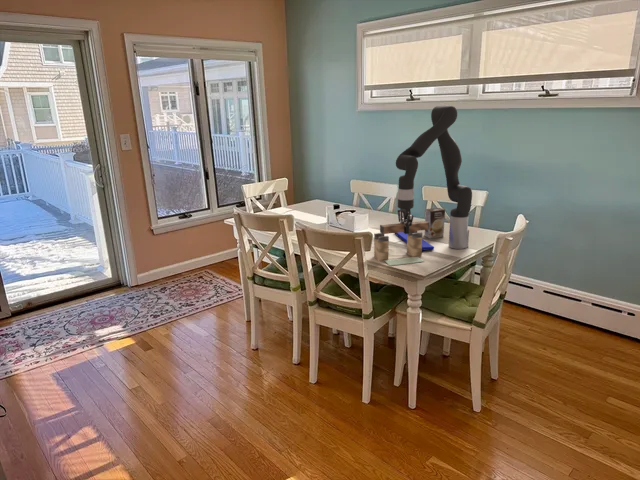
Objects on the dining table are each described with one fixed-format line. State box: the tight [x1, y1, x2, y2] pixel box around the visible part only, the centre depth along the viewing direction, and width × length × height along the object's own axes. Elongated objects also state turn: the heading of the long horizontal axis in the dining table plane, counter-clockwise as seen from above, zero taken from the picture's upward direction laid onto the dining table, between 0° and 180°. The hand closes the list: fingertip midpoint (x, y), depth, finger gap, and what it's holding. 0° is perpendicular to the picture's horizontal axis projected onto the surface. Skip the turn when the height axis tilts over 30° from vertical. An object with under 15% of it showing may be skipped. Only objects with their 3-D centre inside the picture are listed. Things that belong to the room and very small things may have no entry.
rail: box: [379, 220, 430, 235], centre depth 215 cm, size 24×4×4 cm, turn 103°
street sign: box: [394, 232, 435, 251], centre depth 250 cm, size 35×3×10 cm
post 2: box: [406, 231, 423, 257], centre depth 227 cm, size 5×7×12 cm
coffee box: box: [424, 207, 446, 239], centre depth 255 cm, size 9×6×16 cm
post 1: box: [373, 232, 390, 262], centre depth 224 cm, size 5×7×12 cm
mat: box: [384, 256, 425, 267], centre depth 220 cm, size 18×7×1 cm, turn 103°
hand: (404, 232), depth 215 cm, fingers closed on rail, 3 cm apart
